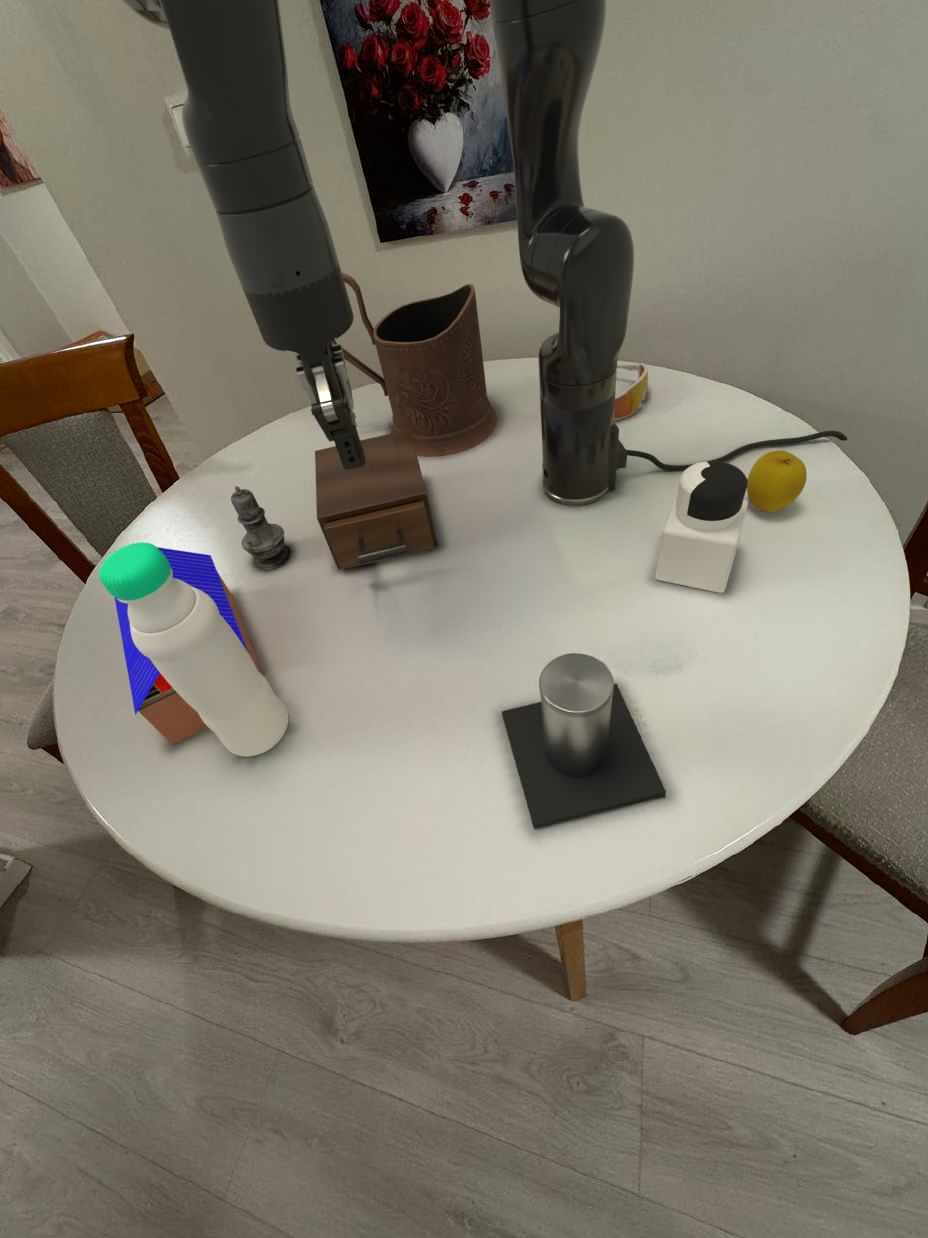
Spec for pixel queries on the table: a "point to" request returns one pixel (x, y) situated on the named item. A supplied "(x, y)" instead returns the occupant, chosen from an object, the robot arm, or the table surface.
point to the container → (703, 527)
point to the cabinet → (370, 481)
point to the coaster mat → (570, 798)
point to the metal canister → (576, 713)
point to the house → (144, 677)
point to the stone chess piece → (259, 532)
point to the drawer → (380, 534)
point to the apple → (775, 481)
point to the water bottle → (195, 650)
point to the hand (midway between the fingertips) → (355, 463)
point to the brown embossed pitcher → (432, 370)
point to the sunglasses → (631, 392)
